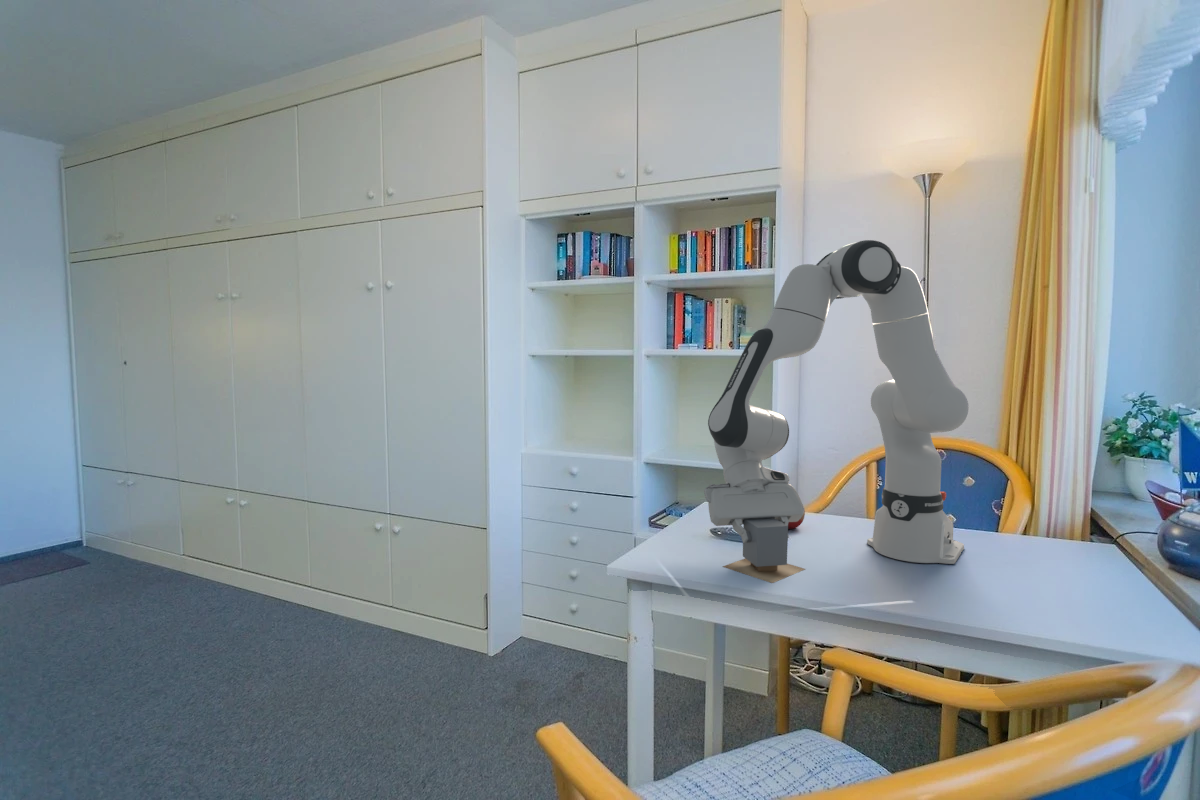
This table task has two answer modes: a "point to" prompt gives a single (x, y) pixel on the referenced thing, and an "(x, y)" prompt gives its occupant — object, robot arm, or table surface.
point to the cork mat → (768, 576)
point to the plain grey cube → (766, 542)
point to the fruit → (795, 524)
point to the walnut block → (765, 568)
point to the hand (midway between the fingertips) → (766, 540)
